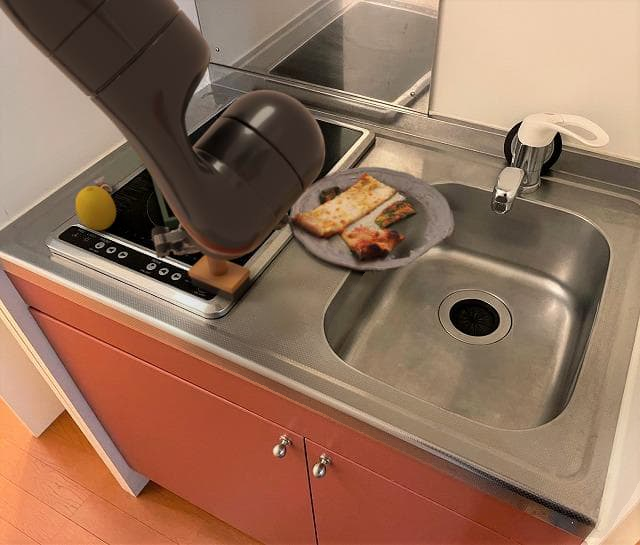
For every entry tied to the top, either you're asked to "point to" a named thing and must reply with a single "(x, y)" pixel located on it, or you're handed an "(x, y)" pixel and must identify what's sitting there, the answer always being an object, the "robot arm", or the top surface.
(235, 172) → the robot arm
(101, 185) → the pale curved piece
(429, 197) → the food plate
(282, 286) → the top surface
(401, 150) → the top surface
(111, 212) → the lemon
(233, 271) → the brush
